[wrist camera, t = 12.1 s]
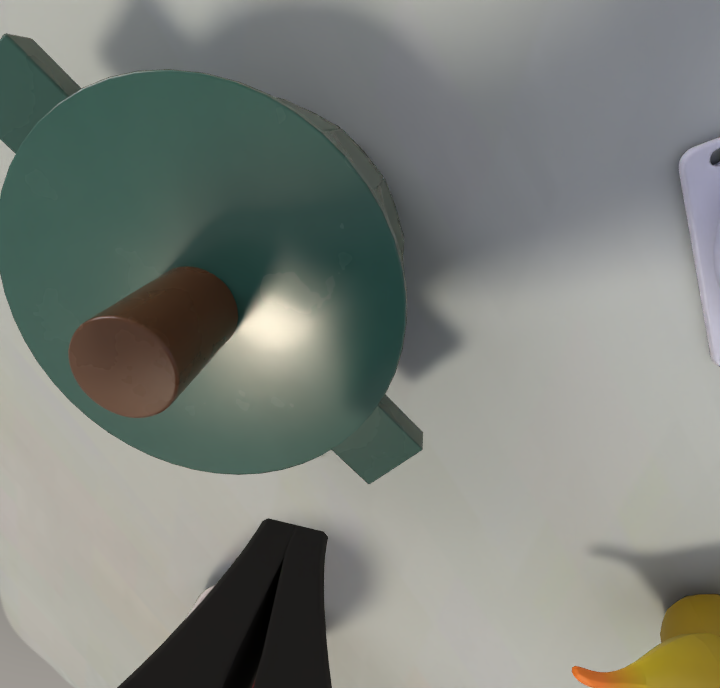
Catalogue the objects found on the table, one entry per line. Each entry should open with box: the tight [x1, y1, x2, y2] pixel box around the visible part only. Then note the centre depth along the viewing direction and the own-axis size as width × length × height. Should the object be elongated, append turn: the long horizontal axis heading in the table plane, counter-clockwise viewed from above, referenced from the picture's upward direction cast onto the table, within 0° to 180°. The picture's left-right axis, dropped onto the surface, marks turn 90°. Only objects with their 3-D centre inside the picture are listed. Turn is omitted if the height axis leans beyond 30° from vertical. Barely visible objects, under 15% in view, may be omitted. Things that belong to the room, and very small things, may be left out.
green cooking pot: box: [0, 34, 423, 484], centre depth 16 cm, size 11×16×5 cm, turn 43°
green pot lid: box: [0, 69, 407, 475], centre depth 12 cm, size 11×11×5 cm
